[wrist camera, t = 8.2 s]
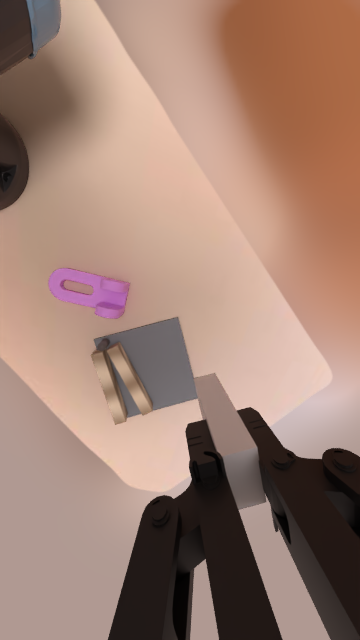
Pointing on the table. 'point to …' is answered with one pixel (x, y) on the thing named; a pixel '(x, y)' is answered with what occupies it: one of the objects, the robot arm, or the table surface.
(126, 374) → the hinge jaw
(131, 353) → the mat
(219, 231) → the table surface
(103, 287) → the bracket
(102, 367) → the tongs base
